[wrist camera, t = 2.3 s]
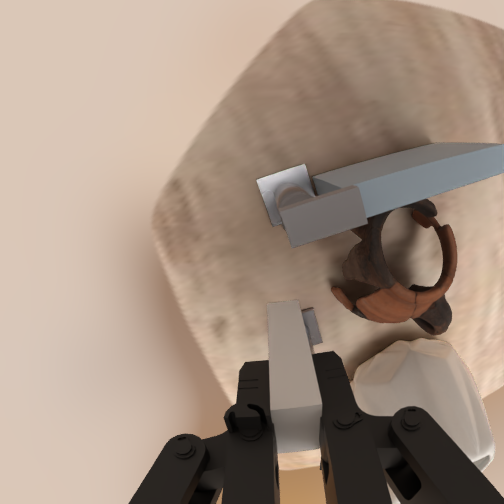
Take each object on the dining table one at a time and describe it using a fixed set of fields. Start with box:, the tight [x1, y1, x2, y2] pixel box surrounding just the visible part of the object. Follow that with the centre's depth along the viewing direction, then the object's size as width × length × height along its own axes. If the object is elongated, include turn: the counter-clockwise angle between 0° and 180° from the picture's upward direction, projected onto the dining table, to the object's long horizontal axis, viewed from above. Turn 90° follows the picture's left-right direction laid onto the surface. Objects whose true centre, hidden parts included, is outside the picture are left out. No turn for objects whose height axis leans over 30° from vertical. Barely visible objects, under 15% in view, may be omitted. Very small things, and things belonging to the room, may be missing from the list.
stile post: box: [301, 308, 323, 354], centre depth 19 cm, size 4×4×10 cm
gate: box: [279, 143, 504, 248], centre depth 14 cm, size 14×2×9 cm, turn 110°
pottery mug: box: [331, 199, 457, 335], centre depth 19 cm, size 12×10×8 cm
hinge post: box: [256, 164, 315, 231], centre depth 16 cm, size 4×4×8 cm
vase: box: [350, 338, 495, 504], centre depth 18 cm, size 14×14×15 cm
